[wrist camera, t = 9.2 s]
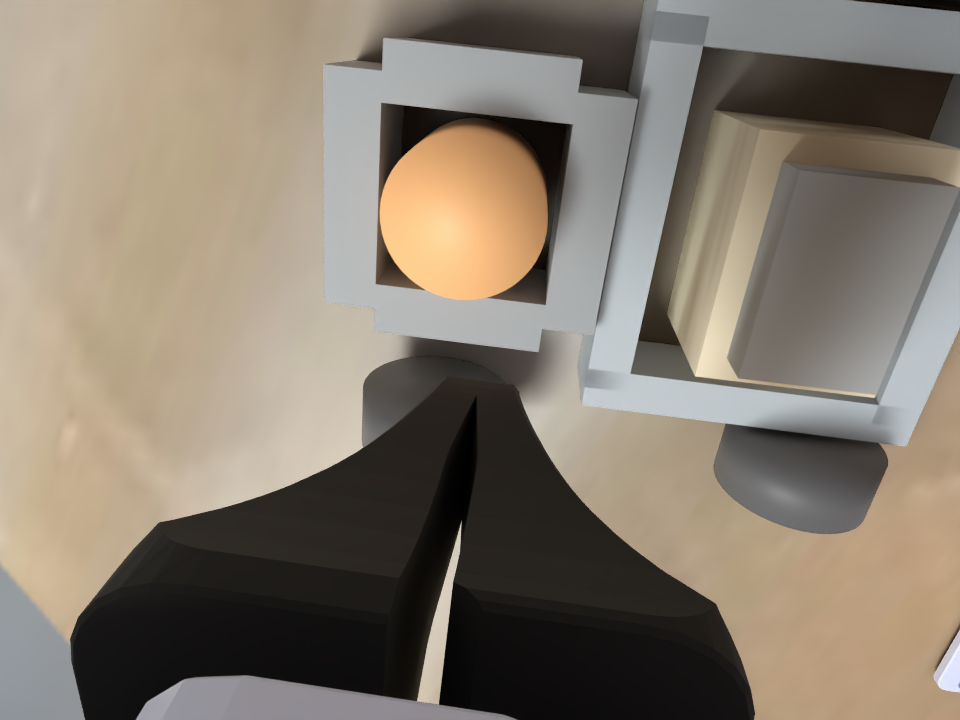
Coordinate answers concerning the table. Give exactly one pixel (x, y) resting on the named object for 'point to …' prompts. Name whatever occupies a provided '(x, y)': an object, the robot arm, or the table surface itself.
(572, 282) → the frame
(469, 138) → the orange rounded peg
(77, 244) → the table surface
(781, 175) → the two-tone stepped block
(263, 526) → the robot arm
